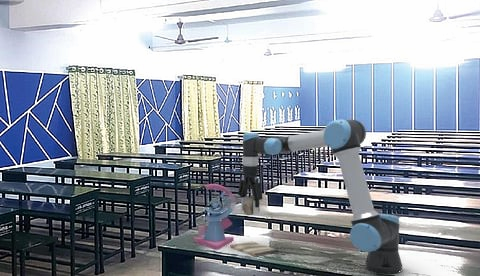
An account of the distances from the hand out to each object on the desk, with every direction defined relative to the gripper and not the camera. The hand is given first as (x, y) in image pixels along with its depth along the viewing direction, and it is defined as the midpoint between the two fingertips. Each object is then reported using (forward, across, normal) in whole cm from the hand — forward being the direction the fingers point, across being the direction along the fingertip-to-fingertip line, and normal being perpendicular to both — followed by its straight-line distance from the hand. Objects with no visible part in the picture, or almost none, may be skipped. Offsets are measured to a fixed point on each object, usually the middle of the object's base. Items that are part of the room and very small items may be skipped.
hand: (249, 212), depth 243 cm
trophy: (+18, +18, +8) cm, 27 cm away
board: (+17, -3, 0) cm, 18 cm away
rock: (+1, 0, 0) cm, 1 cm away
